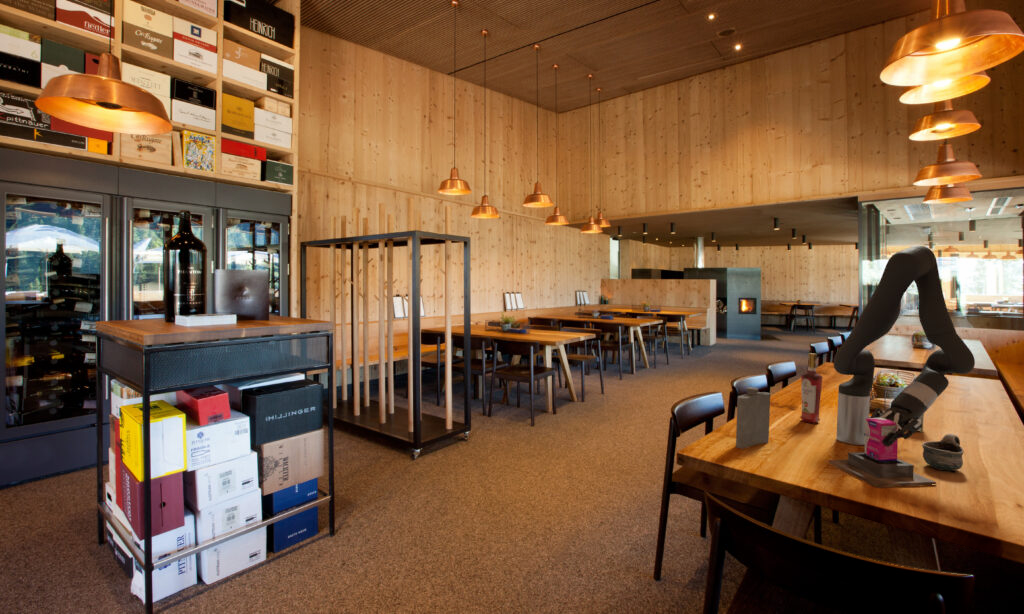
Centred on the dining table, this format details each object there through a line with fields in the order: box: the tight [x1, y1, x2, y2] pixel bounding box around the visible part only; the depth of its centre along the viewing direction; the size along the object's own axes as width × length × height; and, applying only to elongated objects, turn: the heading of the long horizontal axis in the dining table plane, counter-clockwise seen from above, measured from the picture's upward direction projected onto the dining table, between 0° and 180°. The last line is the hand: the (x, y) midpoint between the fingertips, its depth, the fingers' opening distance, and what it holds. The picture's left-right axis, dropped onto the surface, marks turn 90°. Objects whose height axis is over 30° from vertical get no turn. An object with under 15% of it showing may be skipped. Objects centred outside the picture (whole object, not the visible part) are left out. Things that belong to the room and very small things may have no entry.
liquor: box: [799, 352, 823, 424], centre depth 197 cm, size 7×7×28 cm
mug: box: [922, 433, 965, 472], centre depth 149 cm, size 10×12×10 cm
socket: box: [828, 451, 937, 488], centre depth 144 cm, size 18×18×4 cm
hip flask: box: [735, 386, 771, 450], centre depth 169 cm, size 16×4×20 cm, turn 120°
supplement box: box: [864, 418, 899, 461], centre depth 143 cm, size 6×6×12 cm
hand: (875, 440), depth 143 cm, fingers closed on supplement box, 5 cm apart
